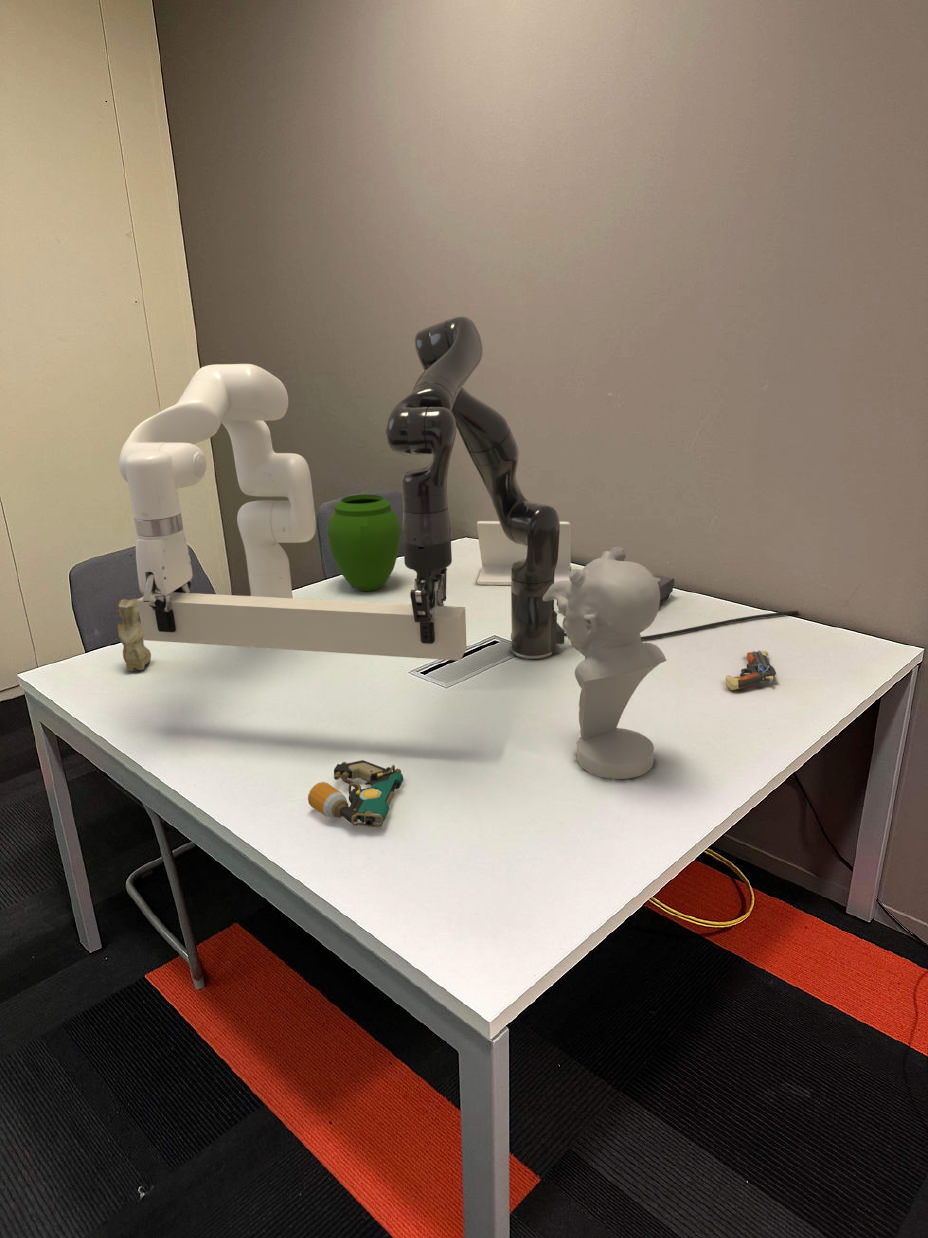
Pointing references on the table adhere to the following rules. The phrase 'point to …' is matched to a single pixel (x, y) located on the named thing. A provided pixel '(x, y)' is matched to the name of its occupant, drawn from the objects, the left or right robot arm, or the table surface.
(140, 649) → the sculpture
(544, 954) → the table surface
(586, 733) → the bust sculpture
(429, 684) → the table surface
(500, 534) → the tablet stand
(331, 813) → the spray gun
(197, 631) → the bar
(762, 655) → the toy gun
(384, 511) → the vase
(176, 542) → the left robot arm
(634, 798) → the table surface
